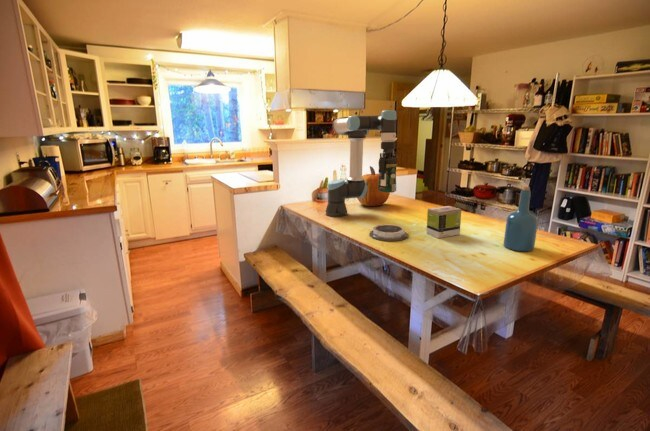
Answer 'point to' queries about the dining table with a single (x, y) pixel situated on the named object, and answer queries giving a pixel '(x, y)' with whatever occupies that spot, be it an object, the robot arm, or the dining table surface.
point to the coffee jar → (389, 176)
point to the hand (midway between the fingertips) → (387, 184)
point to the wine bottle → (521, 225)
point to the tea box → (443, 221)
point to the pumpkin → (373, 191)
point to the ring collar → (388, 233)
